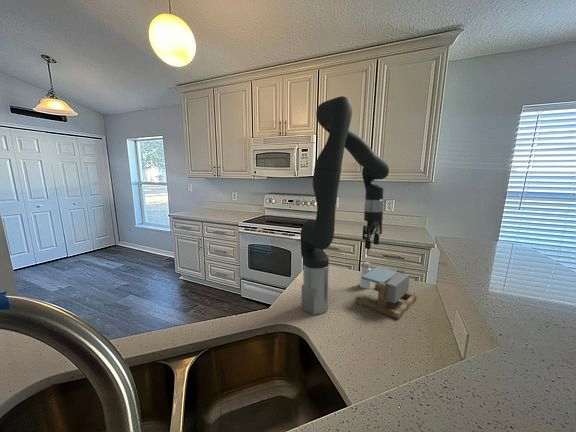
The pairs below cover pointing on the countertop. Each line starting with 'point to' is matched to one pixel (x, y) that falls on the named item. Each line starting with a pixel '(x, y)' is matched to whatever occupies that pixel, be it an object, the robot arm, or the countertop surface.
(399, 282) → the trapdoor
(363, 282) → the pepper shaker
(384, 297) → the wooden frame stand
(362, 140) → the robot arm
